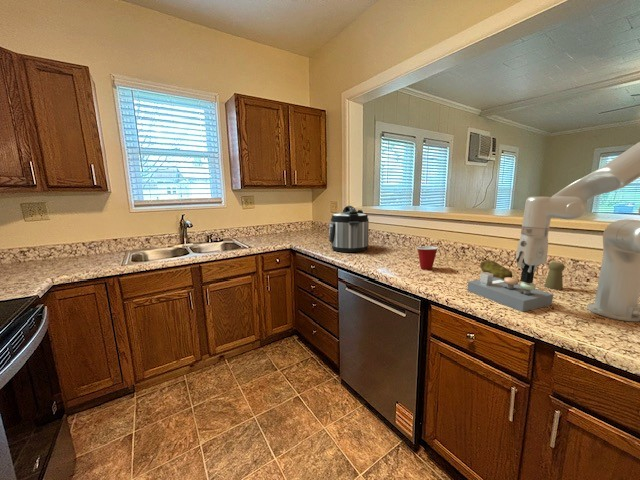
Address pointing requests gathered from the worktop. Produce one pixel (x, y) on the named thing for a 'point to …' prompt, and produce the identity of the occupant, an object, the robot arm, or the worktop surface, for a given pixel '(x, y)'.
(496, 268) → the potato
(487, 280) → the slider knob
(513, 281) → the peach knob
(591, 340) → the worktop surface
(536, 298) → the panel
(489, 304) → the worktop surface
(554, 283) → the cork
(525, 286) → the sage button
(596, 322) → the worktop surface
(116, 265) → the worktop surface
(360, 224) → the pressure cooker
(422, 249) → the plastic cup
